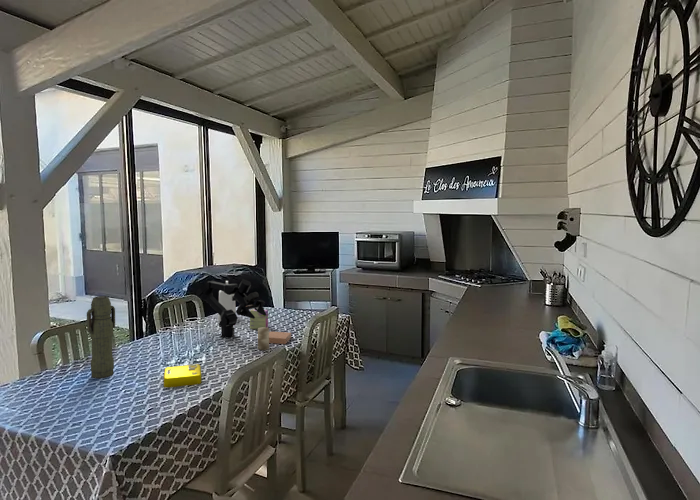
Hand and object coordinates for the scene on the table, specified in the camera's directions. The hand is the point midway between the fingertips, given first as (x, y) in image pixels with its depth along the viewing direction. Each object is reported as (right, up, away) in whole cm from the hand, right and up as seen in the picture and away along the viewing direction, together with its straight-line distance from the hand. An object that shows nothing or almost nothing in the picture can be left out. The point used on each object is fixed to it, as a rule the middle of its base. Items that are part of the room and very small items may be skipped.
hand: (260, 316), depth 246 cm
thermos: (-59, -18, -52) cm, 81 cm away
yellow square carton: (-22, -20, -55) cm, 63 cm away
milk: (-35, -11, +59) cm, 69 cm away
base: (+8, -15, +9) cm, 19 cm away
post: (+3, -16, -8) cm, 18 cm away
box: (-8, -13, +35) cm, 38 cm away
